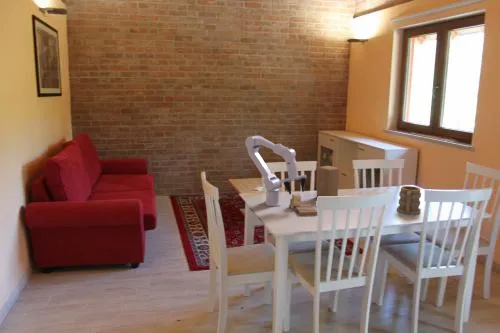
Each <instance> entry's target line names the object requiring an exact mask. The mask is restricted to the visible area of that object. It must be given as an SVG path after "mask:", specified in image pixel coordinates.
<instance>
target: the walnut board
mask: <svg viewBox="0 0 500 333" xmlns="http://www.w3.org/2000/svg"><path fill="white" fill-rule="evenodd" d="M294 210H295V212H296V213H297V214H298V215H299V216H300V217H303V216H307V217H308V216H318V211H317V210H316V208H314V207H313V206H312V205H311V203H309V201H308V200H301V205H300V206H294Z"/></svg>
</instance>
